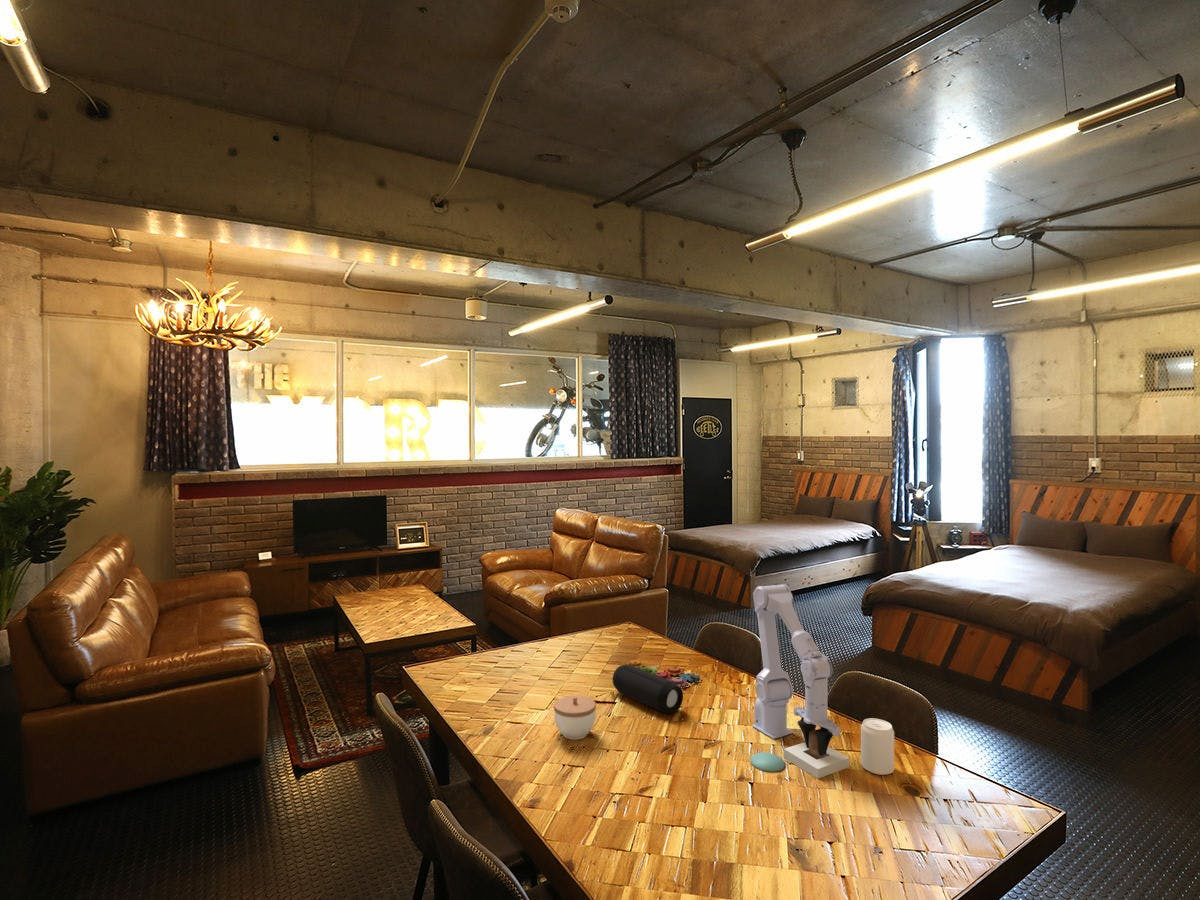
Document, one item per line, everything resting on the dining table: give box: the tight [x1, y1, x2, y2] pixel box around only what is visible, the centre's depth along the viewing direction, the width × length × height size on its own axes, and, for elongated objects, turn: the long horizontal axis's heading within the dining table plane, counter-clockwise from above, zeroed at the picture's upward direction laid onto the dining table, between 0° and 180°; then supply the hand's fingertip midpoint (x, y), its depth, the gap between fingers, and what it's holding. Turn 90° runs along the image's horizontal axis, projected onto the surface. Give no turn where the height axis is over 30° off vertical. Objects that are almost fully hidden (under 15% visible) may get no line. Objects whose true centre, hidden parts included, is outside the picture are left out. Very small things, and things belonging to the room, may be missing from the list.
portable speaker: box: [612, 664, 684, 714], centre depth 207 cm, size 26×10×10 cm, turn 41°
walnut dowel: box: [809, 729, 824, 760], centre depth 168 cm, size 4×4×8 cm
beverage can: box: [860, 717, 895, 776], centre depth 165 cm, size 8×8×12 cm
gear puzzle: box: [624, 659, 701, 691], centre depth 232 cm, size 31×16×4 cm, turn 45°
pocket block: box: [783, 741, 850, 780], centre depth 168 cm, size 12×12×2 cm
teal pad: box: [750, 752, 786, 773], centre depth 168 cm, size 9×9×1 cm
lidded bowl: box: [553, 695, 597, 741], centre depth 184 cm, size 13×13×11 cm
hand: (816, 750), depth 168 cm, fingers closed on walnut dowel, 4 cm apart
